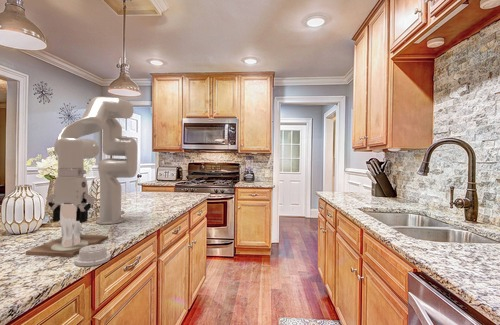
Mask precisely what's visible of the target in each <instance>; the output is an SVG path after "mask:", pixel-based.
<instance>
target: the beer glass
mask: <svg viewBox="0 0 500 325" xmlns="http://www.w3.org/2000/svg"><path fill="white" fill-rule="evenodd" d="M81 203H82V202H81ZM80 212H81V210H80V208H79V207H78V206H74V205H73V204H62V203H61V204H60V221H59V224H60V228H61V234H62V235H61V237H62V241H61V247H74V246H78V245H80V244H81V238H80V233H81V229H82V224H83V223H80Z"/></svg>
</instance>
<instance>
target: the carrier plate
mask: <svg viewBox="0 0 500 325" xmlns="http://www.w3.org/2000/svg"><path fill="white" fill-rule="evenodd" d="M80 238H81V244H80V245H78V246H74V247H61V241H62V236H61V237H59V238H56V239H54V240H52V241H49V242H47V243H44V244H43V243H42V244H41V245H39V246H36V247H33V248H30V249H28V250H26V251H25V256H43V257H58V258H59V257H62V258H73V257H75V256H77V255H79V250H80V249H81V248H83V247H85V246H89V245H97V244H99V245H100V244H102V243H103V242H104V241H106V240H108V239H109V235H103V234H100V235H99V234H83V233H82V232H80Z"/></svg>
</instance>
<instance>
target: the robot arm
mask: <svg viewBox="0 0 500 325" xmlns="http://www.w3.org/2000/svg"><path fill="white" fill-rule="evenodd" d="M133 115H134V107H133V104H132V102H130V101H129V100H127V99H123V98H120V97H112V96H95V97H92V98H91V99H90V101H89V102H88V105H87V106H86V109H85V111H84V113H83V115H82V116H81V118H79V119H77V120H75V121H73V122H71V123H70V124H68V125H66V126H65V127H63V128H62V129H61V130H60V132H59V134H58V136H57V138H56V140H55V142H54V147H53V150H54V153H55V155H56V156H57V176H56V178H55V181H54V188H53V193H52V194H50V195H48V196H46V197H45V199H46V202H47V203H48V206H49V207H50V209H51V211H52V222H54V223H56V222H60V204H61V203H62V204H73V205H74V206H78V207H79V208H80V210H81V212H80V223H82V224H84V223H86V222H88V218H89V217H88V216H89V210H90V209H91V208H92V207H93V206H94V203H95V202H96V198H95V197H93V196H91V195H90V194H89V187H88V185H89V184H88V180H87V178H86V176H84V175H86V174H87V170H85V169H84V167H85V166H84V164H85V163H84V162H85V161H84V160H85V159H87V160H88V159H90V160H91V159H95V158H96V157H98V154H99V153H100V145H99V144H98V142H97V141H96V140H94V139H91V138H90V139H89V138H81V137H84V136H88V135H89V136H90V135H92V134H96V133H99V132H101V131H102V142H101V143H102V145H101V146H102V153H103V154H104V155H106V156H113V157H126V158H112V157H111V158H104V159H101V160H100V161H99V162H98V163H97V164H98V165H97V170H98V176H99V218H97V219H96V220H95V223H96V224H98V225H115V224H119V223H123V222H124V221H125V217H123V216H122V215H124V214H125V210H122V185H121V183H120V181H119V180H118V179H119V178H121V179H122V178H123V179H125V178H126V179H128V178H130V179H131V178H134V177H135V176H136V175H137V171H138V170H137V169H138V143H137V140H136V139H135V138H134V137H128V136H122V135H123V132H122V131H123V127H122V125H121V124H120V122H119V121H118V120H117V119H126V120H127V119H128V120H129V119H131V118H132V117H133ZM117 178H118V179H117ZM81 202H82V203H81Z"/></svg>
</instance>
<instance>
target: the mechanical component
mask: <svg viewBox="0 0 500 325" xmlns="http://www.w3.org/2000/svg"><path fill="white" fill-rule="evenodd" d="M107 250H108V249H107V245H105V244H102V243H99V244H97V245H89V246H85V247H83V248H81V249H80V250H79V254H78V256H77V255H76V257H74V262H73V263H74V265H75V266H78V267H93V266H94V267H95V266H98V265H99V266H100V265H101V264H102V265H103V264H105V263H106V262H109V261H110V260H111V256H112V255H111V253H110V252H108V251H107Z"/></svg>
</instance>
